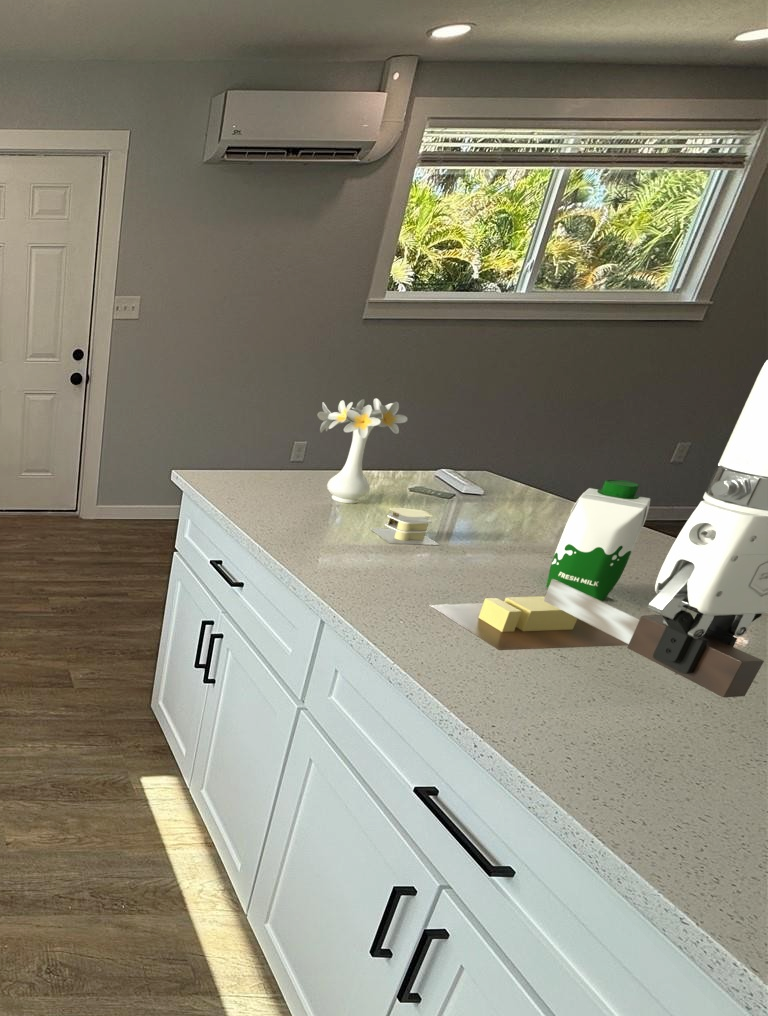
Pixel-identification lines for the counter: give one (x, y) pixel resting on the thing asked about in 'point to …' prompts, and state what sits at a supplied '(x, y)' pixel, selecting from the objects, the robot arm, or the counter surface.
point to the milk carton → (599, 538)
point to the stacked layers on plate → (406, 527)
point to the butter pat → (499, 614)
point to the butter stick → (540, 614)
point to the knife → (714, 668)
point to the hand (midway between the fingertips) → (685, 663)
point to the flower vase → (357, 443)
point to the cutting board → (525, 639)
